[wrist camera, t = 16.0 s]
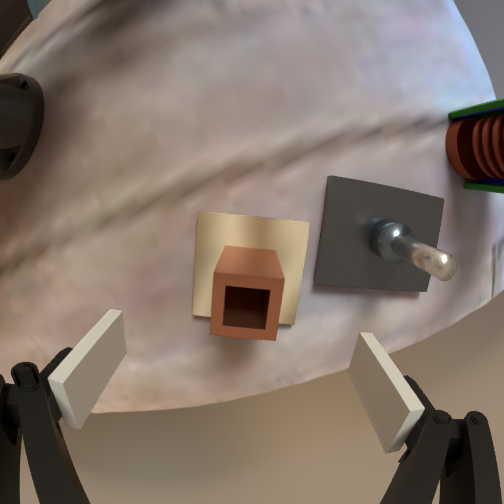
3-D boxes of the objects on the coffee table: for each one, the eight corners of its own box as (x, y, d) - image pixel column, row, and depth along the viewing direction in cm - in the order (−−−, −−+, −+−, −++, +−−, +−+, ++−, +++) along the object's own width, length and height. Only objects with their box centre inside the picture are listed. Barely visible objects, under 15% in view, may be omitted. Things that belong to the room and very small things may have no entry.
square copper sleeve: (221, 292, 30) (209, 334, 21) (225, 245, 29) (213, 271, 20) (269, 297, 30) (275, 340, 22) (275, 250, 29) (285, 278, 20)
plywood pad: (194, 311, 32) (192, 314, 31) (199, 211, 29) (198, 212, 28) (293, 320, 32) (294, 324, 31) (307, 222, 30) (309, 223, 29)
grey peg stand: (313, 279, 31) (347, 336, 19) (327, 175, 28) (377, 172, 16) (420, 287, 31) (482, 332, 19) (437, 197, 29) (511, 210, 17)
